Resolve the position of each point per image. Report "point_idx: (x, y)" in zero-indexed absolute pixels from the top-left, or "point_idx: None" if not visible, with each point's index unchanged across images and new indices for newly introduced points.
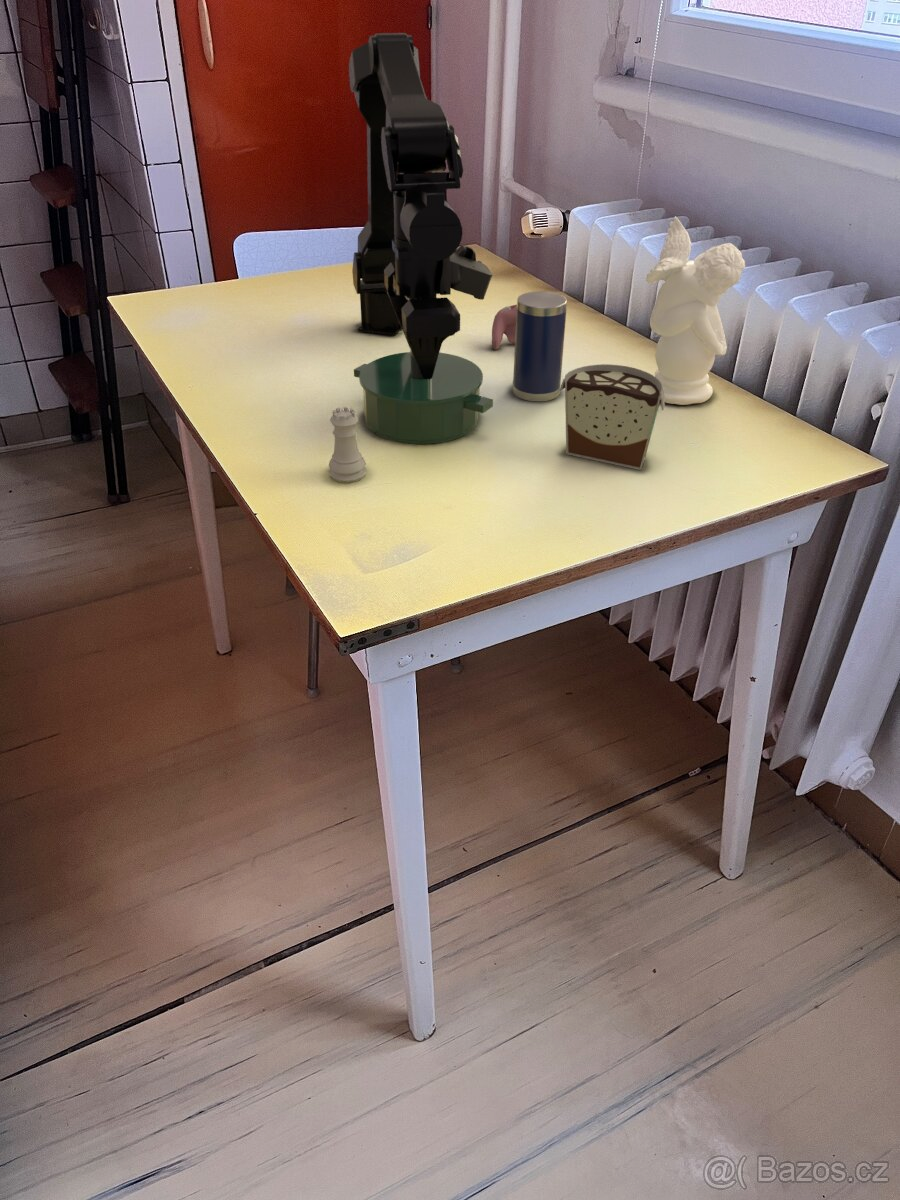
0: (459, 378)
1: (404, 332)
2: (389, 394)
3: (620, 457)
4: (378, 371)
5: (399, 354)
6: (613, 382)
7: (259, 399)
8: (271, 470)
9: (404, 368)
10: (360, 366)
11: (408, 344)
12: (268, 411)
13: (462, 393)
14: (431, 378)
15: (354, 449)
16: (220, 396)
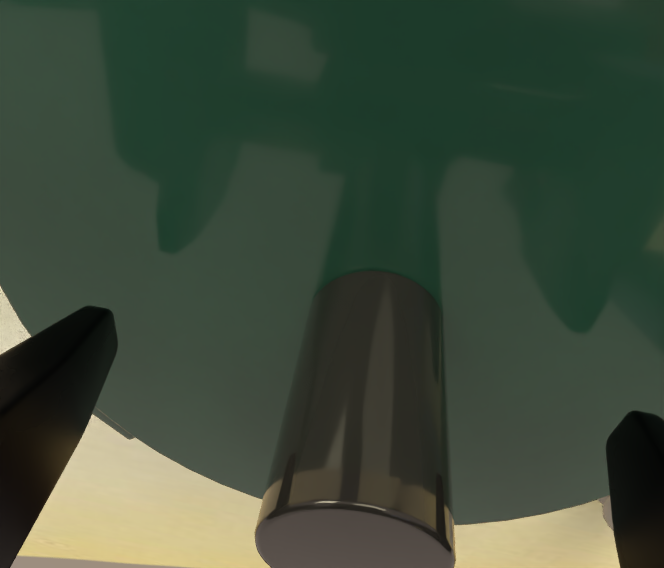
0: (583, 118)
1: (48, 497)
2: (540, 497)
3: None
4: (257, 450)
5: (32, 312)
6: None
7: (122, 485)
8: (507, 554)
9: (250, 358)
10: (100, 416)
11: (95, 396)
12: (196, 490)
13: None
14: (654, 415)
15: None
16: (100, 524)
